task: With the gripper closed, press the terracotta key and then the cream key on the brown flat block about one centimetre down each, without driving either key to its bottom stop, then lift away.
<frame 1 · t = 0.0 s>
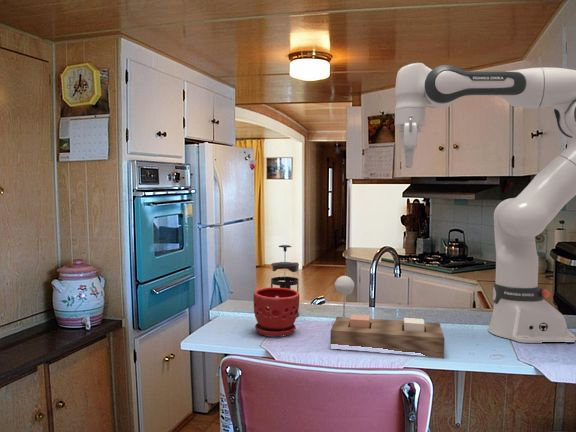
hand: (408, 166, 147), 48 cm above the countertop, fingers open, 8 cm apart
lollipop: (343, 325, 151), on the countertop
french press: (284, 315, 162), on the countertop
terracotta key: (360, 323, 133), point 5 cm above the countertop, slide at 0.0 cm
cream key: (413, 327, 130), point 5 cm above the countertop, slide at 0.0 cm
brown flat block: (386, 345, 132), on the countertop
plant pot: (276, 333, 142), on the countertop
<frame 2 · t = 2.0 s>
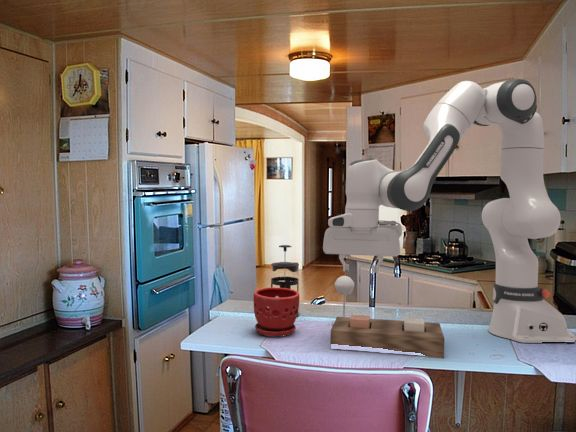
hand: (360, 271, 132), 19 cm above the countertop, fingers open, 6 cm apart
nothing on the countertop moved.
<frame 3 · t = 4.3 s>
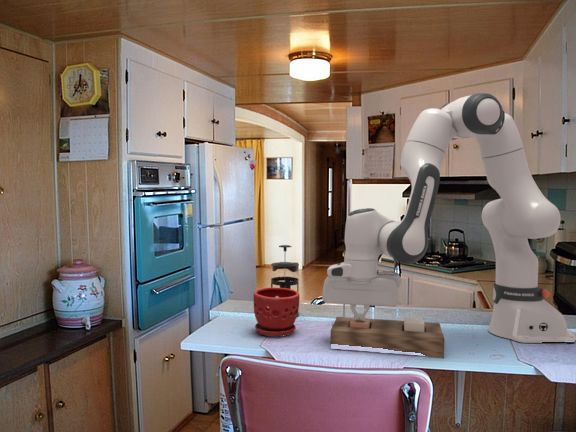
hand: (359, 320, 133), 6 cm above the countertop, fingers closed, pressing on terracotta key
terracotta key: (359, 327, 133), point 4 cm above the countertop, slide at 1.0 cm, touching gripper
everything else where it was.
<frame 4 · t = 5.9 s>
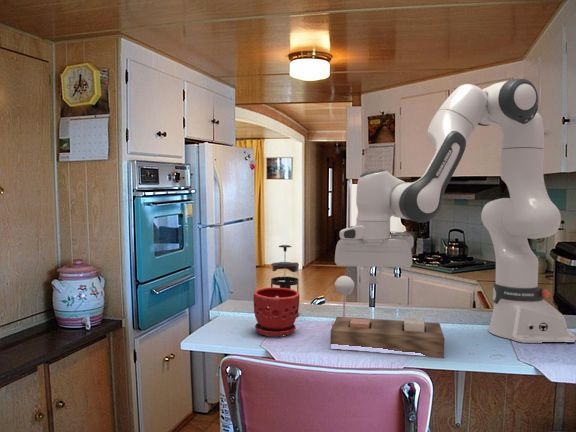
hand: (373, 283, 132), 16 cm above the countertop, fingers closed
terracotta key: (359, 327, 133), point 4 cm above the countertop, slide at 1.1 cm
everything else where it was.
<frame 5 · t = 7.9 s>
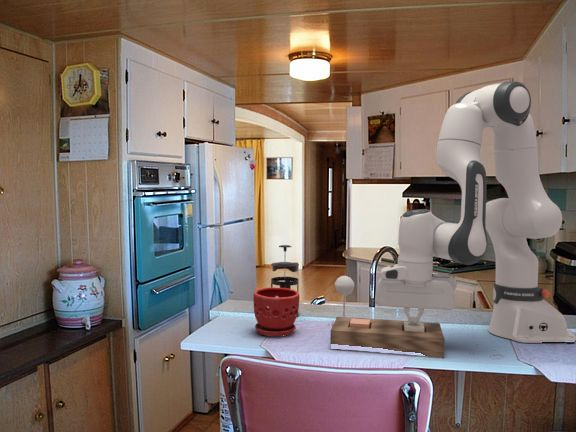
hand: (413, 324, 130), 6 cm above the countertop, fingers closed, pressing on cream key
cream key: (413, 331, 130), point 4 cm above the countertop, slide at 1.0 cm, touching gripper
everything else where it was.
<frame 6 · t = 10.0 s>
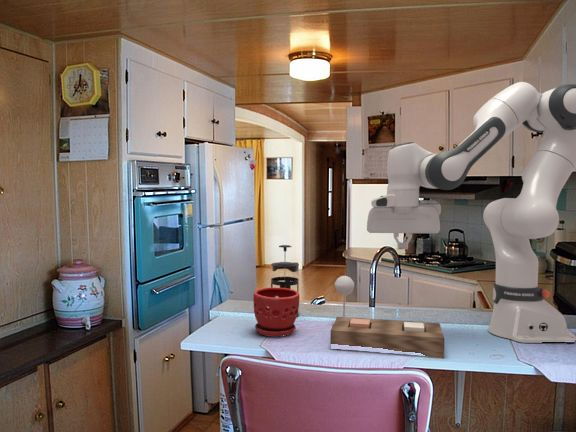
hand: (402, 249, 141), 24 cm above the countertop, fingers closed
cream key: (413, 331, 130), point 4 cm above the countertop, slide at 1.1 cm
everything else where it was.
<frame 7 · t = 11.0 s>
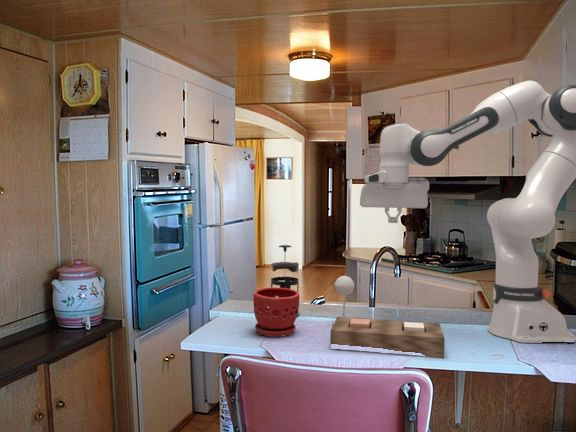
hand: (392, 222, 151), 31 cm above the countertop, fingers closed
nothing on the countertop moved.
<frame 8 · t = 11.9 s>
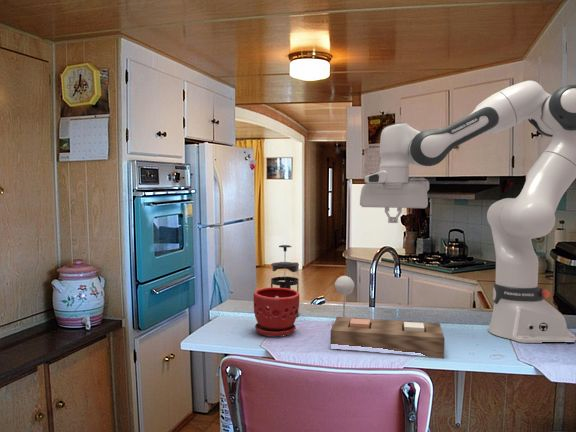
hand: (392, 222, 151), 31 cm above the countertop, fingers closed
nothing on the countertop moved.
at the end: terracotta key slide at 1.1 cm; cream key slide at 1.1 cm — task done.
